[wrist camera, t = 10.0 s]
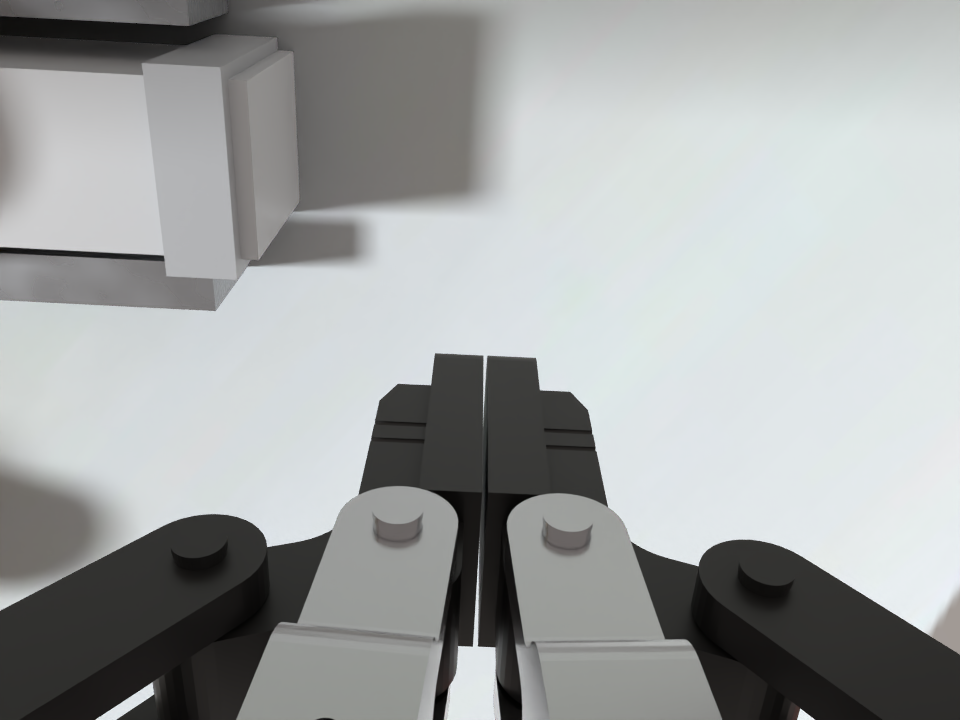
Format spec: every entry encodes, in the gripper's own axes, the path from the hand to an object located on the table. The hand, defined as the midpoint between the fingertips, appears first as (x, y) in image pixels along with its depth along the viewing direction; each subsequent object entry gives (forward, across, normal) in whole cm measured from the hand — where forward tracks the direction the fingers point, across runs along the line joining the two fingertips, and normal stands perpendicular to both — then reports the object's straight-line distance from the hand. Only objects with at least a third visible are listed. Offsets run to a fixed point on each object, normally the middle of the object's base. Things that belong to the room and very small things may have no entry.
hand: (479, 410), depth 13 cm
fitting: (+19, +11, 0) cm, 22 cm away
